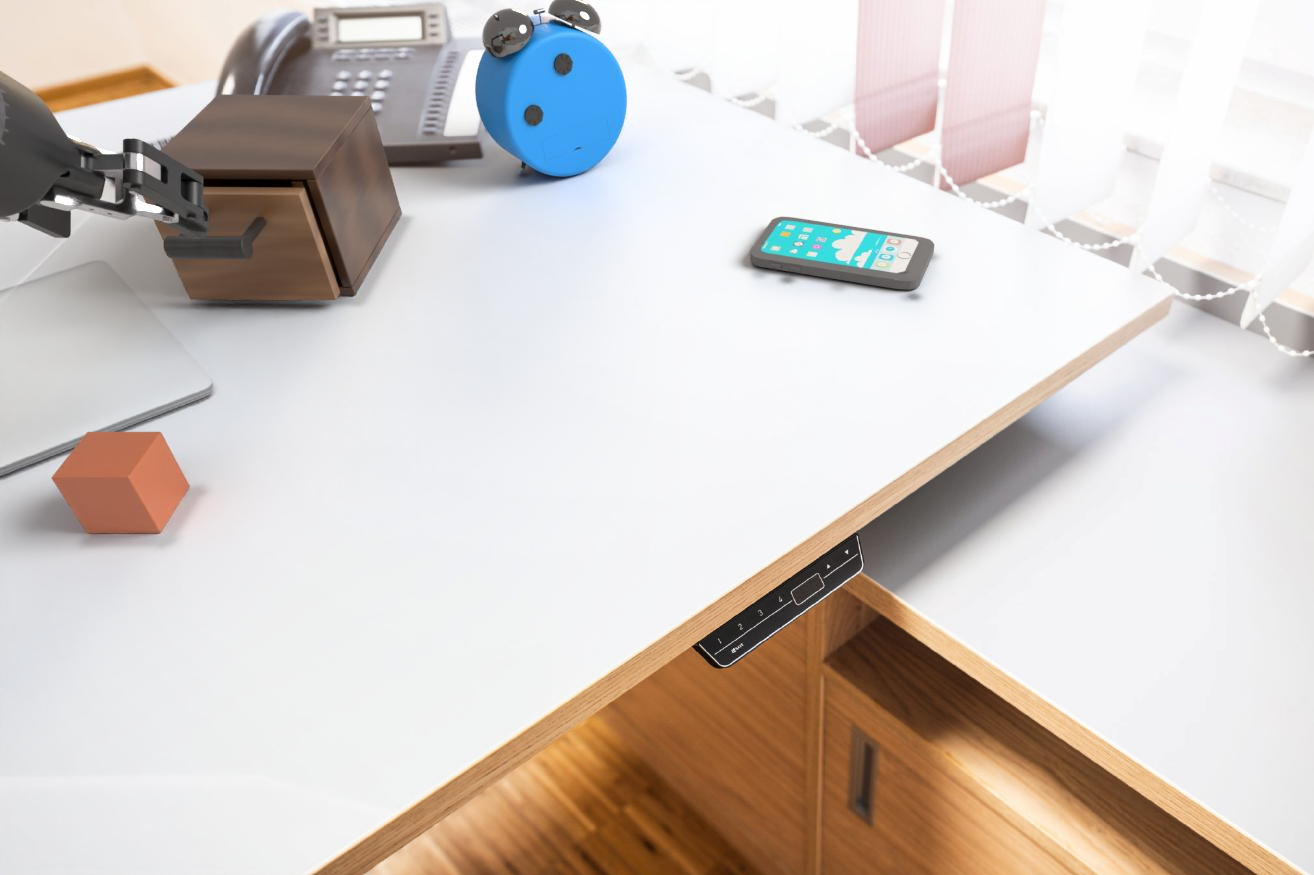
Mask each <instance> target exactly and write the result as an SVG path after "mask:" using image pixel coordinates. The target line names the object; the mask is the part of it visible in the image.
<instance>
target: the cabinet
mask: <svg viewBox="0 0 1314 875" xmlns="http://www.w3.org/2000/svg"><path fill="white" fill-rule="evenodd" d="M160 151H161V152H163V153H165V154H166V155H168V156H170V157H171V158H173V159H175V160H176V161H178V162H180V163H181V164H183V165H185V166H186V167H188V168H190V169H191V170H193V171H195V172H196V173H198V174H200V175H201V176H203V179H280V180H307V183H308V186H309V189H310V192H311V195H312V198H313V201H314V204H315V207H316V210H317V213H318V216H319V219H320V221H321V224H322V227H323V230H324V233H325V236H326V239H327V242H328V245H329V248H330V251H331V254H332V257H333V260H334V263H335V266H336V269H337V272H338V275H339V276H338V277H337V279H336V281H337V284H338V287H339V290H340V294H339V296H338V297H340V296H341V297H347V296H348V297H353V296H354V297H355V296H356V295H357V293H358V291H359V290H360V287H361V286H362V284H364V281H365V279H366V277H367V276H368V274H369V272H370V271H371V269H372V267H373V266H374V264H375V262H376V260H377V258H378V256H379V255H380V253H381V251H382V249H383V248H384V247H385V245H386V243H387V241H388V239H389V238H390V236H391V235H392V232H393V231H394V228H395V227H396V225H397V223H398V222H399V220H400V218H401V217H402V215H403V212H402V208H401V205H400V201H399V198H398V193H397V190H396V188H395V183H394V179H393V176H392V172H391V169H390V165H389V162H388V158H387V154H386V152H385V148H384V144H383V141H382V137H381V133H380V130H379V126H378V123H377V118H376V115H375V112H374V109H373V106H372V101H371V97H370V96H369V95H315V94H314V95H313V94H311V95H309V94H308V95H307V94H298V95H297V94H225V93H224V94H221V93H220V94H217V95H216V96H215V97H214V98H213V99H212V100H211V101H210V102H209V103H207V104H206V105H205V106H204V107H203V109H201V110H200V112H198V113H197V114H196V115H195V116H194V117H193V118H192V119H191V120H190V121H189V122H188V123H187V124H186V125H184V127H182V129H181V130H180V131H178V133H177V134H176V135H175V136H174V137H172V138H171V139H170V140H169V141H168V142H167V143H166V144H165V145H164V146H163V147H162V148H161V149H160Z"/></svg>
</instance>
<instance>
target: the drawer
mask: <svg viewBox="0 0 1314 875" xmlns="http://www.w3.org/2000/svg"><path fill="white" fill-rule="evenodd" d="M142 197H143V200H144V203H146V204H150V205H154V206H155V202H153V201H151V200H149V199H148V198H146V197H144V196H142ZM203 204H204V205H206V206H207V207H209V210H210V232H207V236H206V238H205V239H192V238H190V237H188V236H186V235H184V234H183V233H181V232H179V231H177V230H175V229H173V228H172V227H170V226H168V225H166V224H164V223H163V222H161V221H159V220H155V219H152V220H153V222H154V224H155V227H156V228H157V230H158V233H159V235H160V238H161V239H162V242H163V244H162V245H163V250H164V253H165V255H166V256H167V257H168V258H169V259H171V261H172V263H173V266H174V268H175V270H176V273H177V274H178V277H179V278H180V279H179V280H180V281H181V283H182V285H183V288H184V290H185V292H186V294H187V296H188V299H189V300H191V301H192V300H193V301H197V300H198V301H199V300H200V301H201V300H202V301H203V300H204V301H206V300H208V301H209V300H210V301H211V300H212V301H213V300H214V301H222V300H223V301H226V300H227V301H231V300H232V301H337V299H338V297H340V296H339V294H340V290H339V287H338V284H337V281H336V279H337V277H338V276H339V275H338V272H337V269H336V266H335V263H334V260H333V257H332V254H331V251H330V248H329V245H328V242H327V239H326V236H325V233H324V230H323V227H322V224H321V221H320V219H319V216H318V213H317V210H316V207H315V204H314V201H313V198H312V195H311V192H310V189H309V186H308V183H307V180H280V179H203Z"/></svg>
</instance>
